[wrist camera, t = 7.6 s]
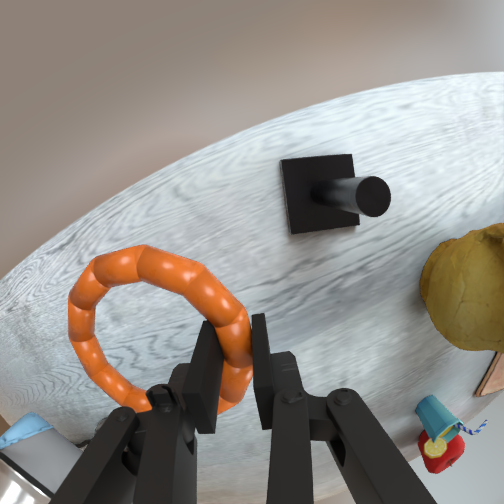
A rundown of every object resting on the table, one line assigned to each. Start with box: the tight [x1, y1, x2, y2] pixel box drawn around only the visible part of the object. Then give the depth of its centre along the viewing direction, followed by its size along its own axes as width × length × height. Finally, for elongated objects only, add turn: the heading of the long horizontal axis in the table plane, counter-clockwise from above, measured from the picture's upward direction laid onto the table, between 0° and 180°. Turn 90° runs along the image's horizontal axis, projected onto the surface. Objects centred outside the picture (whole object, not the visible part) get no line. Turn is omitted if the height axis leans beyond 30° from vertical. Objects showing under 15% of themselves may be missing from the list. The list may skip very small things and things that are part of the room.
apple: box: [418, 430, 465, 474], centre depth 39 cm, size 10×10×14 cm
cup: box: [416, 395, 488, 458], centre depth 35 cm, size 14×8×15 cm, turn 118°
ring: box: [68, 245, 253, 415], centre depth 16 cm, size 13×13×2 cm
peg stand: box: [280, 154, 391, 235], centre depth 26 cm, size 9×9×15 cm
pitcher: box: [420, 223, 504, 354], centre depth 24 cm, size 17×19×25 cm
